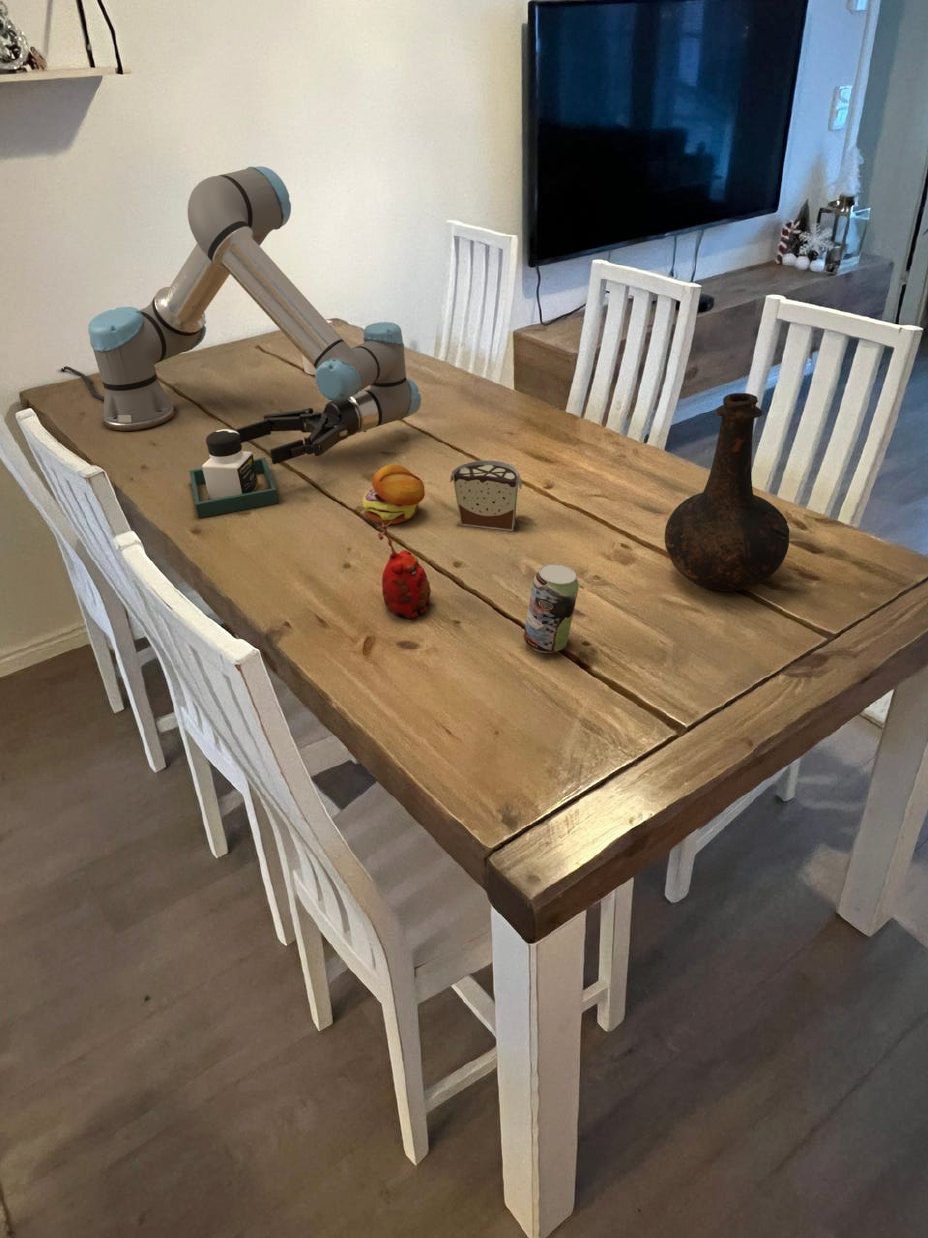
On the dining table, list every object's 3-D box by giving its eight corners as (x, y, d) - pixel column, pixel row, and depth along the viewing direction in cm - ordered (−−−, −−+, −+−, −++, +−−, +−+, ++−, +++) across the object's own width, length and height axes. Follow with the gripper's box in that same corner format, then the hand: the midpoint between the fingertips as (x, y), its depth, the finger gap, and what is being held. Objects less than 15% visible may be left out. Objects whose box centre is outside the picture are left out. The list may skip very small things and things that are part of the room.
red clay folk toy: (424, 623, 131) (416, 532, 123) (377, 620, 132) (366, 530, 124) (435, 594, 137) (427, 506, 129) (390, 592, 139) (380, 505, 130)
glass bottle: (762, 619, 127) (791, 432, 112) (643, 588, 136) (655, 410, 120) (796, 561, 140) (828, 385, 124) (685, 536, 148) (701, 368, 132)
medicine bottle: (244, 502, 167) (232, 441, 161) (209, 500, 169) (195, 440, 162) (259, 485, 173) (247, 426, 166) (225, 484, 174) (212, 425, 168)
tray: (192, 483, 175) (189, 470, 174) (267, 470, 179) (265, 457, 177) (198, 518, 163) (195, 504, 161) (279, 503, 166) (276, 489, 165)
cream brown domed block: (531, 515, 157) (530, 462, 151) (521, 532, 152) (520, 477, 147) (464, 508, 161) (461, 455, 155) (452, 524, 156) (449, 470, 150)
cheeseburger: (379, 496, 166) (386, 448, 160) (430, 517, 164) (439, 470, 157) (350, 519, 159) (356, 470, 152) (403, 542, 156) (411, 493, 150)
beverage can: (521, 634, 127) (519, 561, 121) (572, 630, 128) (574, 556, 121) (527, 661, 122) (526, 586, 116) (581, 656, 123) (583, 580, 116)
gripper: (387, 451, 174) (290, 485, 163) (320, 416, 190) (228, 446, 180) (383, 413, 169) (283, 446, 159) (315, 382, 186) (221, 410, 176)
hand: (254, 446), depth 169 cm, fingers open, 13 cm apart
